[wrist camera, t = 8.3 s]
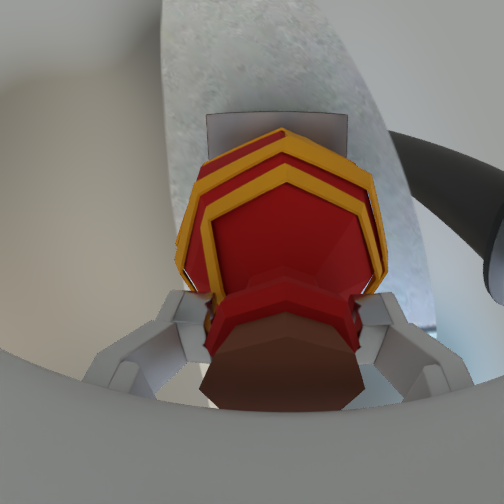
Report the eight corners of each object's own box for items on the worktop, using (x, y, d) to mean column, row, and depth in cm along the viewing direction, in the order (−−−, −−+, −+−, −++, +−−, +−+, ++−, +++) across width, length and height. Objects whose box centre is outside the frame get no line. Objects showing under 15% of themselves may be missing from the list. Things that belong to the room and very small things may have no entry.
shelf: (332, 113, 27) (347, 114, 20) (327, 214, 32) (339, 241, 26) (220, 113, 28) (205, 114, 22) (227, 214, 33) (215, 240, 27)
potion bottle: (177, 200, 20) (51, 359, 7) (276, 92, 16) (290, 24, 3) (280, 285, 23) (278, 471, 10) (379, 201, 19) (503, 361, 6)
